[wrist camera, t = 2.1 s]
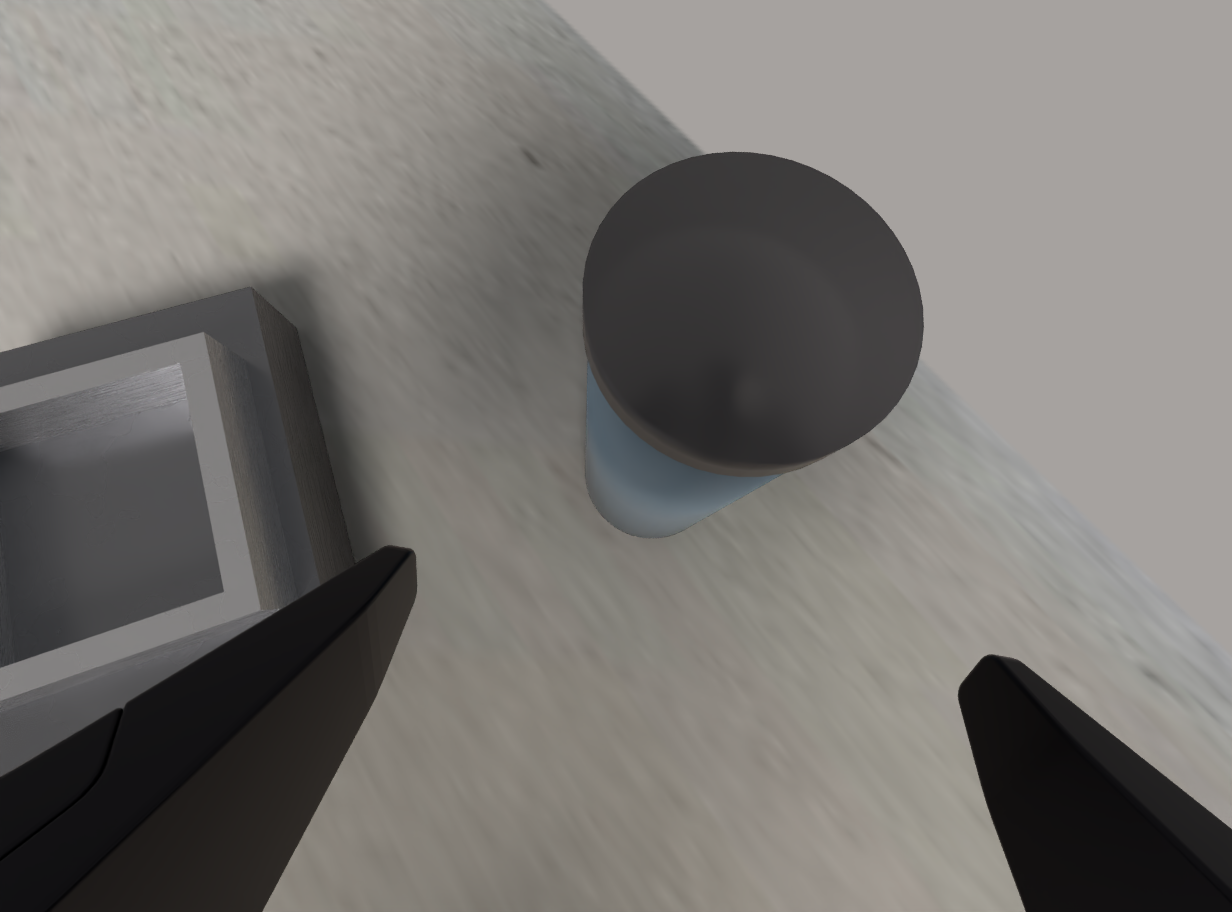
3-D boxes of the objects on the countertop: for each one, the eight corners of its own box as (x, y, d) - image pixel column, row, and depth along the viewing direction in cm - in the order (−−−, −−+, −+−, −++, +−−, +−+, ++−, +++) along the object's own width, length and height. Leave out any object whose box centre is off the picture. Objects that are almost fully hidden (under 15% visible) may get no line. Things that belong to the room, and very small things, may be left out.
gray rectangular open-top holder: (381, 671, 18) (309, 702, 14) (73, 787, 17) (-130, 868, 12) (296, 327, 21) (211, 251, 16) (27, 402, 20) (-152, 342, 15)
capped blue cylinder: (708, 552, 20) (919, 494, 8) (570, 527, 20) (550, 425, 7) (725, 421, 21) (927, 185, 9) (596, 397, 21) (616, 124, 9)
